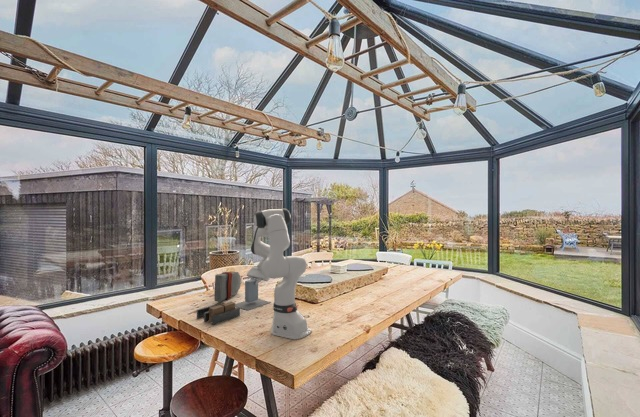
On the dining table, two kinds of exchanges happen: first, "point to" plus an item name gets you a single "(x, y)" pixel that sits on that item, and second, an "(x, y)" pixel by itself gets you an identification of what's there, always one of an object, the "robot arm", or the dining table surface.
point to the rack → (218, 317)
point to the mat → (251, 304)
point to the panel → (251, 290)
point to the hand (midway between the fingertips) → (252, 283)
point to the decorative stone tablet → (226, 285)
